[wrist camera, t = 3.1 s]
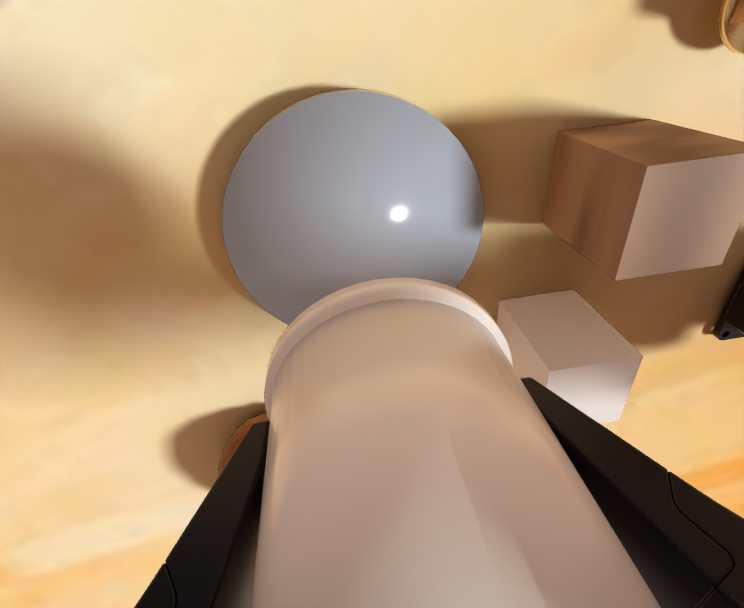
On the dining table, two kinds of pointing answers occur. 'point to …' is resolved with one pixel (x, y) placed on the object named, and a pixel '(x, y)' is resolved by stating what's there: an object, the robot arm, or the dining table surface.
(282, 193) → the dish
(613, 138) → the walnut block
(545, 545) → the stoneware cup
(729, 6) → the balance
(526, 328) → the beige block
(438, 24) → the dining table surface
